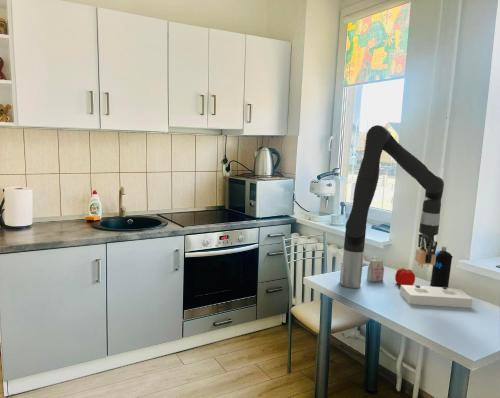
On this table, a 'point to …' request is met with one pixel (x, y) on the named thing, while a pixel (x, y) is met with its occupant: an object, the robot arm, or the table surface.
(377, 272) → the small beige carton
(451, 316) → the table surface
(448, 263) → the aerosol can
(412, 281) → the tomato
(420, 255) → the plug
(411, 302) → the block
